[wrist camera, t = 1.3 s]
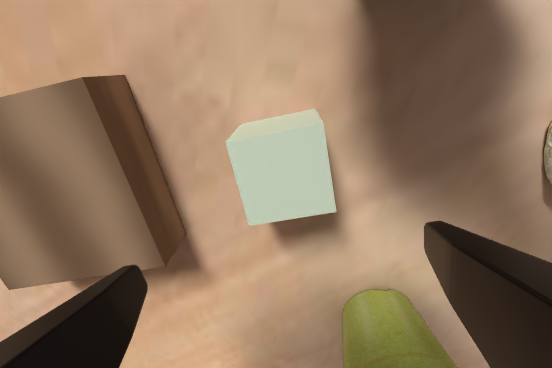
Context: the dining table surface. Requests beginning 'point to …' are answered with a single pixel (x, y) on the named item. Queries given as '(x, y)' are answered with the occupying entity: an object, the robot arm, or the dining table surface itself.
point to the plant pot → (388, 334)
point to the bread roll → (548, 154)
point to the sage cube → (282, 167)
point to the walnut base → (80, 185)
